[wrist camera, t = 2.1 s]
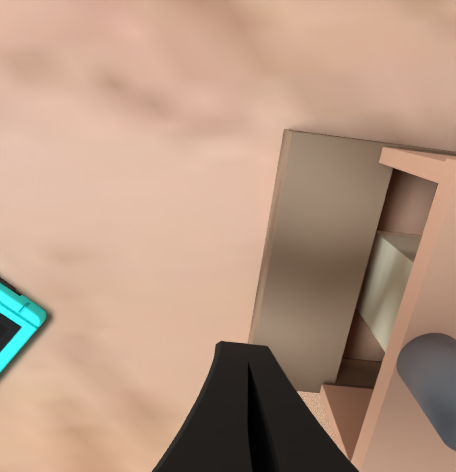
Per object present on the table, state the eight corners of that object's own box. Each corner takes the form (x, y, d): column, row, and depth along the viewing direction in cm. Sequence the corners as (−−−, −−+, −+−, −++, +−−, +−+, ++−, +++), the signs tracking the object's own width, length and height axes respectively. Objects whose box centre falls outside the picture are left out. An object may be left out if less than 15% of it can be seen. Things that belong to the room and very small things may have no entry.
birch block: (428, 311, 19) (515, 398, 13) (353, 303, 19) (408, 387, 13) (453, 239, 18) (560, 300, 12) (372, 229, 18) (443, 287, 12)
